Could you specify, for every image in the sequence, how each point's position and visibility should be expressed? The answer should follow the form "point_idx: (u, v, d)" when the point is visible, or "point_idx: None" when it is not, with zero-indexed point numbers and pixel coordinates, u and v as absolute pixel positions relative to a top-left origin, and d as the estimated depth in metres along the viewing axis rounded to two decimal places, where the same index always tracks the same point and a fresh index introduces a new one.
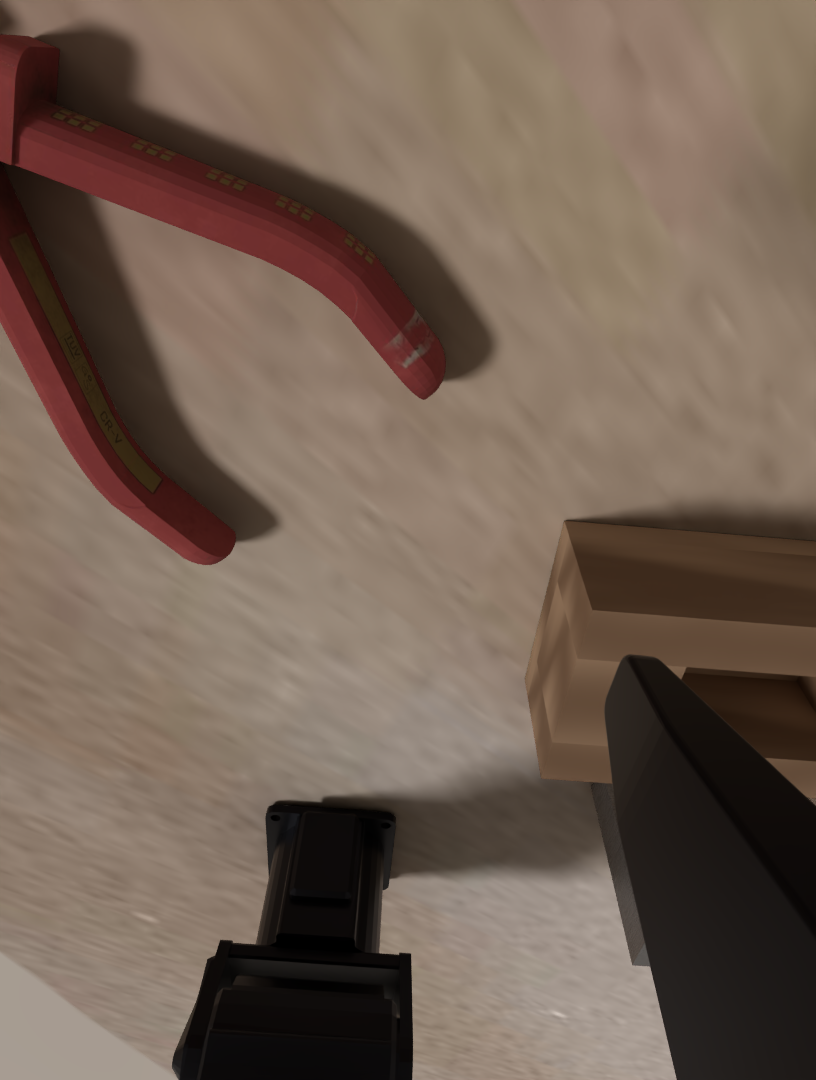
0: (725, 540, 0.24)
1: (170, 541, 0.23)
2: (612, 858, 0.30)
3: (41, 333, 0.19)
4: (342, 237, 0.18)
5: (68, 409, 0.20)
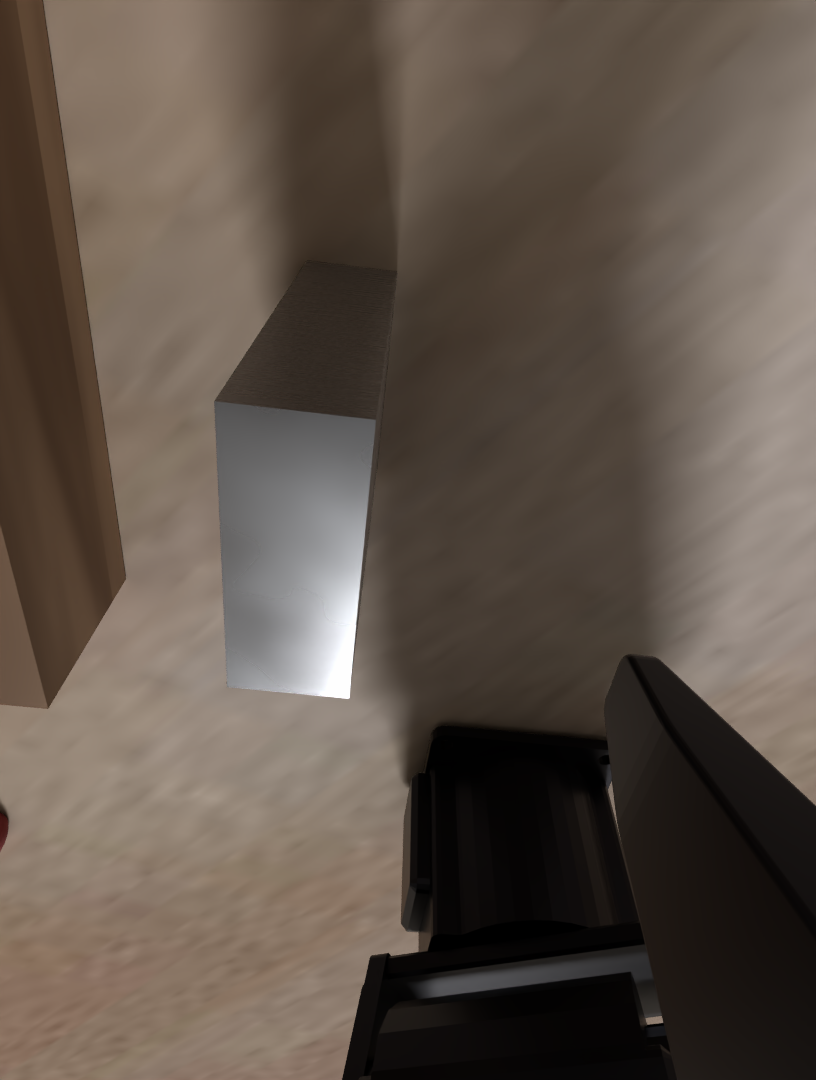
0: None
1: None
2: None
3: None
4: None
5: None
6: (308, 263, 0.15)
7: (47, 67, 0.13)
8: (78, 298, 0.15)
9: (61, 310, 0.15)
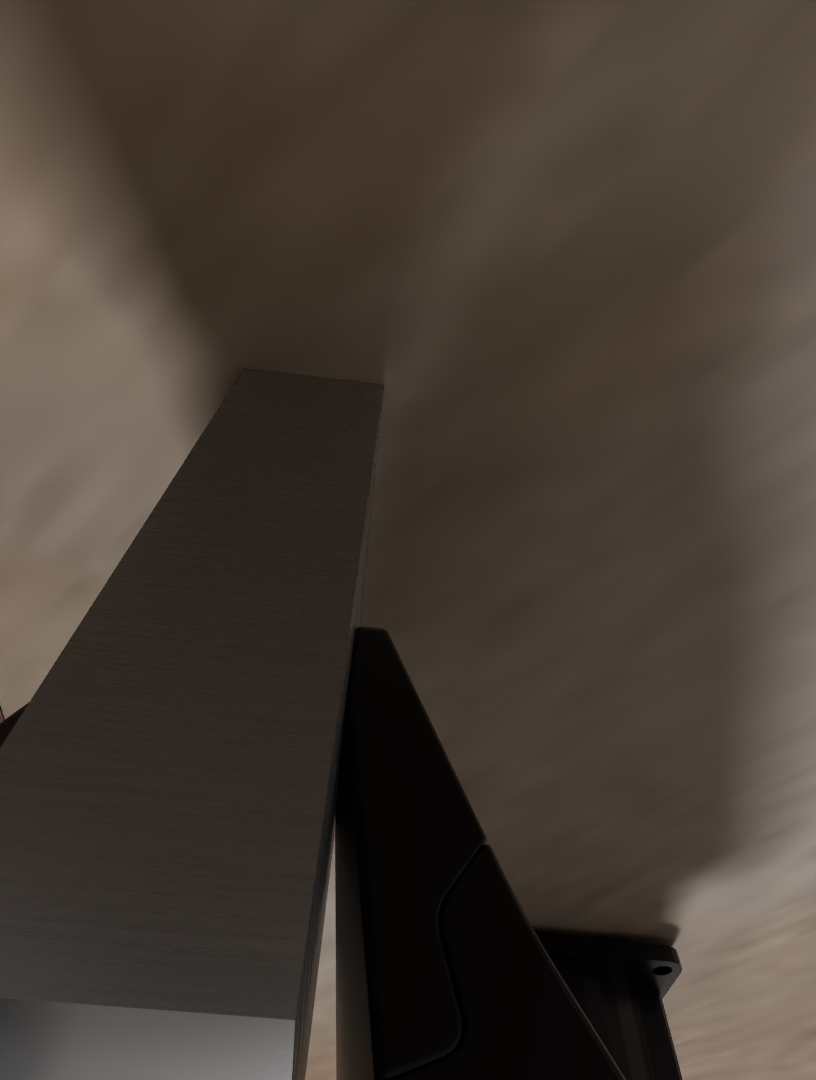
0: None
1: None
2: None
3: None
4: None
5: None
6: (244, 375, 0.10)
7: None
8: None
9: None
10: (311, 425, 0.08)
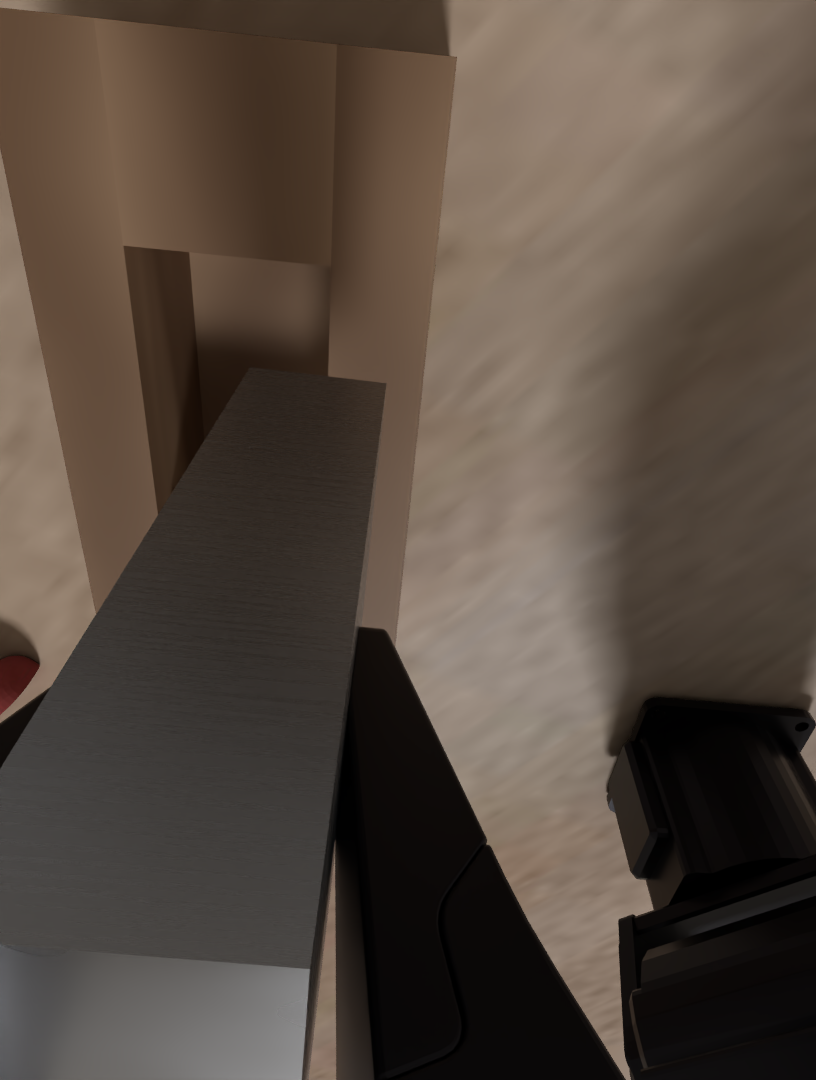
0: None
1: None
2: None
3: None
4: None
5: None
6: (251, 373, 0.10)
7: None
8: None
9: None
10: (316, 422, 0.09)
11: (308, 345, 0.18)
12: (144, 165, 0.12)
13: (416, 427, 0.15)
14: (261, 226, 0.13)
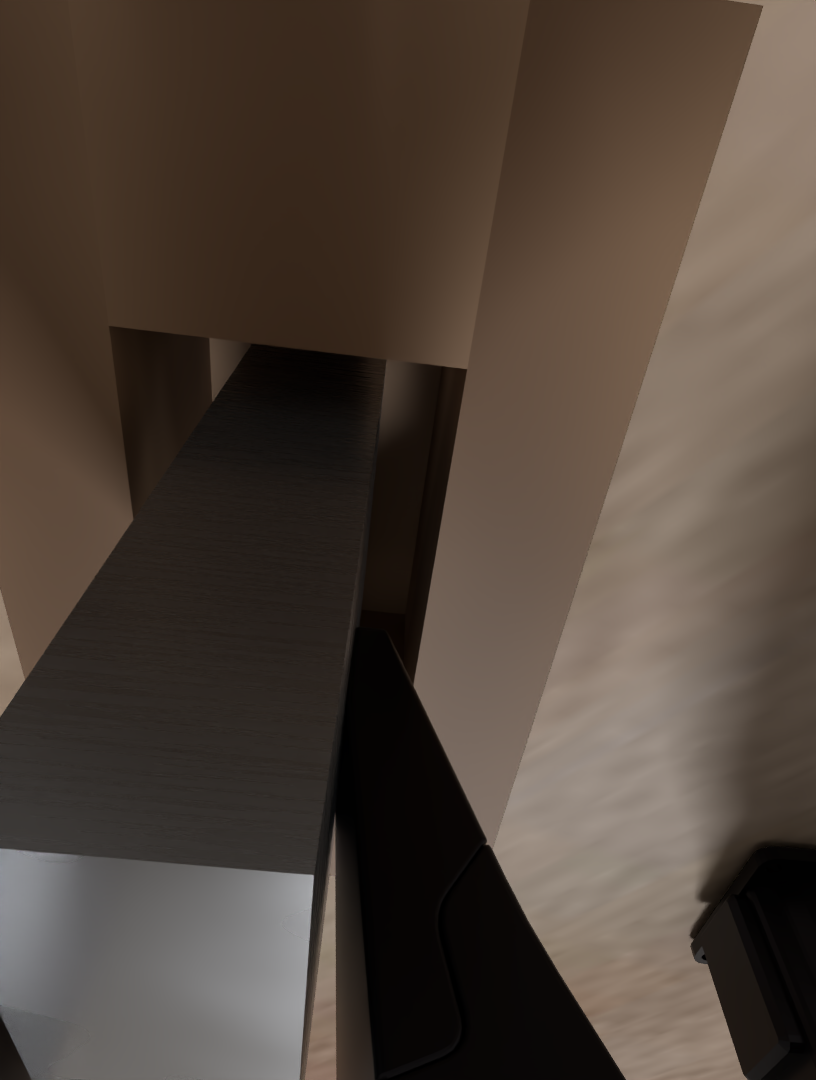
0: None
1: None
2: None
3: None
4: None
5: None
6: (253, 349, 0.10)
7: None
8: None
9: None
10: (317, 393, 0.09)
11: None
12: (149, 191, 0.07)
13: (568, 603, 0.10)
14: (354, 301, 0.07)
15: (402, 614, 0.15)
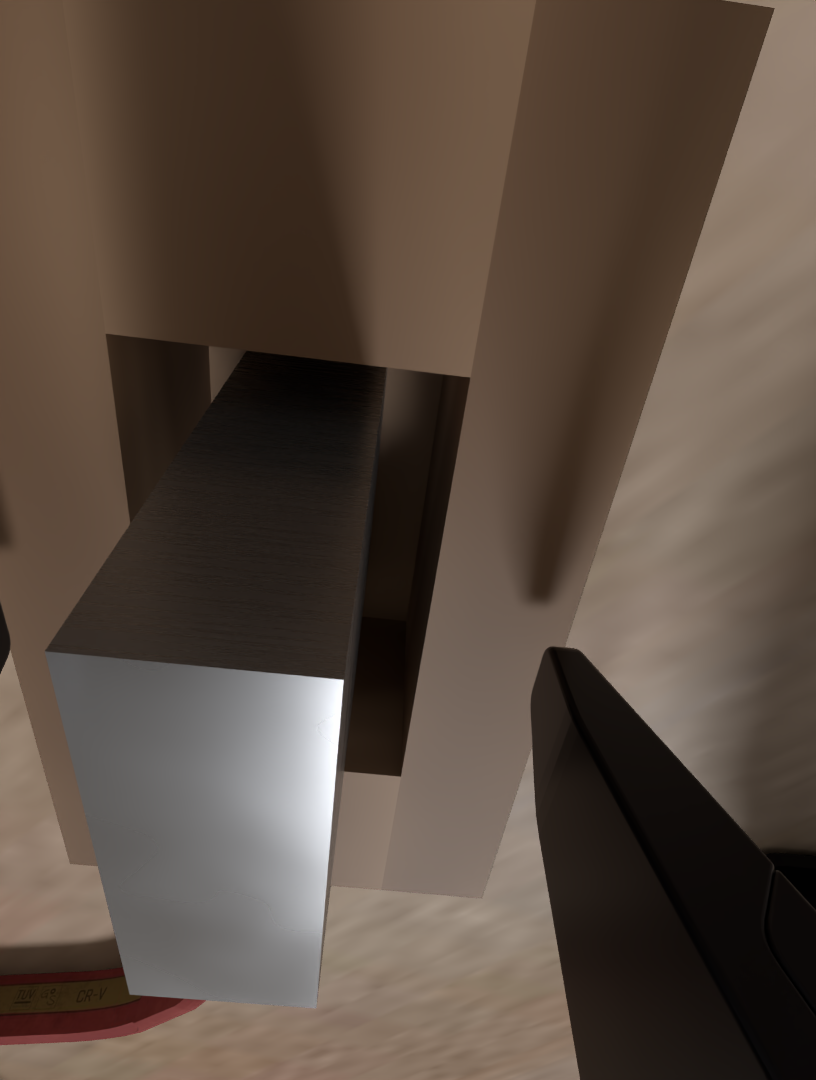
0: None
1: (172, 1016, 0.24)
2: None
3: None
4: None
5: (48, 1037, 0.25)
6: None
7: None
8: None
9: None
10: None
11: None
12: (146, 196, 0.07)
13: (572, 613, 0.09)
14: (355, 309, 0.07)
15: (403, 620, 0.15)
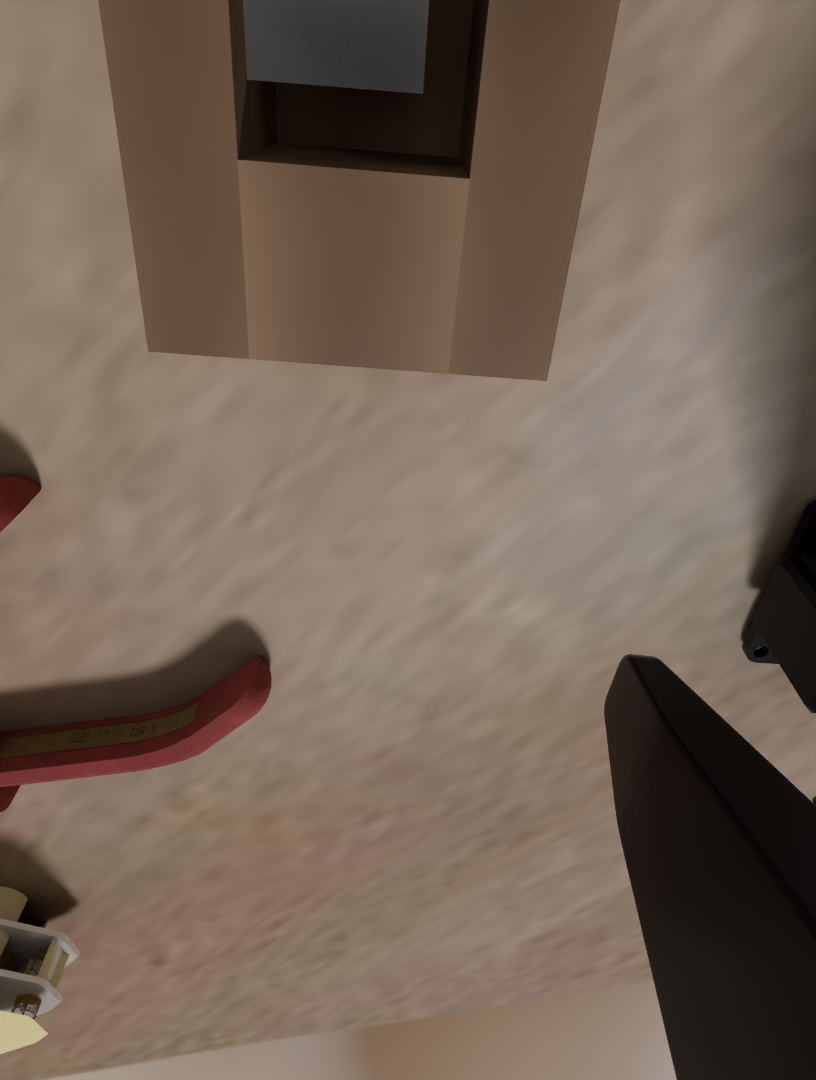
0: None
1: (225, 727, 0.24)
2: None
3: (46, 765, 0.26)
4: None
5: (105, 764, 0.25)
6: None
7: None
8: None
9: None
10: None
11: None
12: None
13: None
14: None
15: (455, 157, 0.15)
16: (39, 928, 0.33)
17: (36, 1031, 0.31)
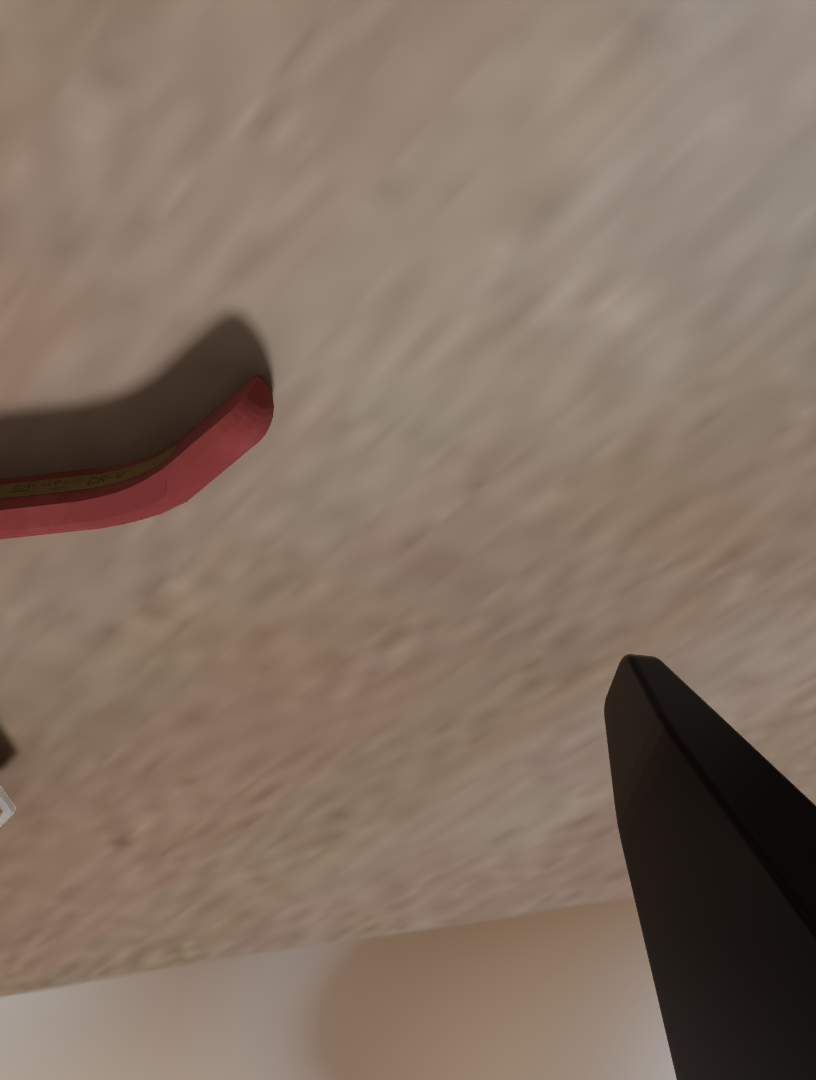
0: None
1: (211, 455, 0.18)
2: None
3: None
4: None
5: (52, 512, 0.20)
6: None
7: None
8: None
9: None
10: None
11: None
12: None
13: None
14: None
15: None
16: None
17: None
